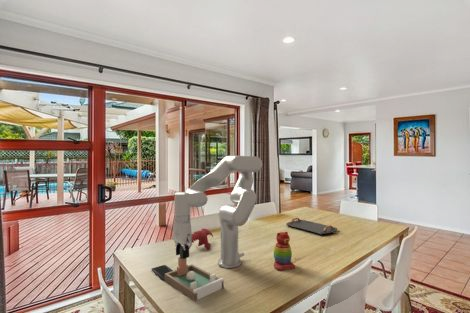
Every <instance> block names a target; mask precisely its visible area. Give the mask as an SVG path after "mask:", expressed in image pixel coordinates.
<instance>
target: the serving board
mask: <svg viewBox="0 0 470 313" xmlns="http://www.w3.org/2000/svg"><path fill="white" fill-rule="evenodd" d="M285 225H286V227H287V226H288V227H287V228H289V226H290V227H292V228H293V227H294V228H296V229H299V230H300V229H301V230H304V231H309V232H312V233H316V234H319V236H320V237H323V236H324V235H325V234H330V233H336V232H337V231H338V228H337V227H335V226H333V225H327V224H323V223H318V222H314V221H310V220H305V219H300V218H299V217H294V218H291V220H290V221H289V222H287V223H285Z"/></svg>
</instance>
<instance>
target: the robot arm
mask: <svg viewBox="0 0 470 313" xmlns="http://www.w3.org/2000/svg"><path fill="white" fill-rule="evenodd" d="M262 167H263V161H262V159H261V158H260V157H259V156H255V155H254V156H253V155H252V156H250V155H249V156H248V155H225V157H223V158H222V159H221V160H220V161H219V162H218V163H217V165H216V166H215V167H214V168H213V169H212V170H210V172H209V173H207V174H206V175H204V176H202V177H200V178H199V179H197V180H196V181H195V182H194V183H193V184H192V185H191V186H190V187H189V188H188V189H187V190H186V191H178V192H175V194H174V199H173V200H174V205H173V206H174V208H173V209H174V220H173V224H172V225H173V226H172V240H173V241H174V243H175V244H174V245H175V246H174V247H175V256H180V247H181V246H183V249H184V250H183V259H185V258H189V257H190V248H191V247H192V246H193V243H192V241H191V239H192V234H193V233H192V225H191V208H192V207H194V208H200V207H204V206H205V205H207V203H208V195H207V194H206V193H205V192H206V191H208V190H209V189H212V188H215V187H218V186H220V185H222V184H223V183H224V182H225V180H227V179H228V177H230V175H231V174H232V173H233V172H235V173H238V175H239V176H238V178H237V181H236V183H235V185H234V187H233V189H232V191H231V193H230V196H229V198H230V201H231V202H232V203H233V204H231V203H230V204H226V203H225V204H224V205H222V206H221V207H220V209H219V212H218V218H219V224H220V258H219V259H218V260H217V264H218V266H219V267H221V268H224V269H233V268H234V269H235V268H238V267H239V266H241V264H242V260H241V259H240V258H242V257H244V256H245V252H240V253H239V227H242V226H244V225H245V224H246V223H247V221H248V219H249V217H250V216H251V214H252V211H253V210H254V207H255V205H256V203H257V194H256V192H255V191H254V190H253V189H252V186H253V183H254V176H253V175H254V174H253V173H257V172H259V171H260V170H262ZM186 242H187V243H186ZM185 244H187V246H186V247H185Z"/></svg>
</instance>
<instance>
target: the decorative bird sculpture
mask: <svg viewBox="0 0 470 313" xmlns="http://www.w3.org/2000/svg"><path fill="white" fill-rule="evenodd" d="M208 236H211V237H212V238H214V235H213V233H212V231H211V230H209V229H207V228H201V230H198V231H194V232H193V233H192V239H191V241H192V244H193V243H195V242H196V241H198V244H197V245H196V246H195V248H196V249H198V247H201V246H203V245H204V246H203V248H205V249H206V250H207V251H210V249H211V247H212V244H211V243H210V242H209V239H208ZM186 243H187V242H186ZM186 246H187V244H185V247H186Z"/></svg>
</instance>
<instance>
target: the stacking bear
mask: <svg viewBox="0 0 470 313" xmlns="http://www.w3.org/2000/svg"><path fill="white" fill-rule="evenodd" d="M275 237H276V238H275V239H276V243H275V245H274V248H273V258H274V262H273V267H274V269H275V270H276V271H279V272H280V271H281V272H282V271H284V270H295V269H296V265H295V263H293V262H291V261H292V258H293V257H292V254H293V253H292V247H291V244H290V243H289V242H290V240H291V238H290V235H289V232H288V231H284V232H283V231H282V232H281V231H280V232H277V233H276V236H275Z"/></svg>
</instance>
